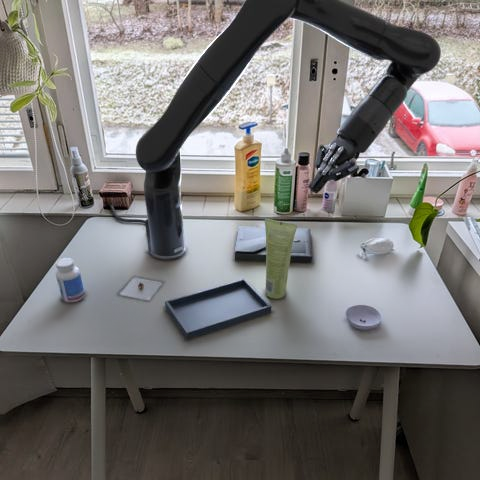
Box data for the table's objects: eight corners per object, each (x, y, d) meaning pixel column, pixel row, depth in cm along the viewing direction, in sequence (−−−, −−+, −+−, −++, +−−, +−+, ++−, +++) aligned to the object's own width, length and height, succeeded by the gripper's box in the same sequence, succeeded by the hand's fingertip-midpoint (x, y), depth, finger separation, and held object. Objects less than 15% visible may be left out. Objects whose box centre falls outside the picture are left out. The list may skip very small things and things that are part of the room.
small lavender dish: (351, 307, 119) (353, 301, 118) (384, 318, 116) (386, 311, 114) (339, 325, 113) (340, 319, 112) (373, 337, 110) (375, 330, 109)
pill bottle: (89, 292, 123) (81, 258, 117) (77, 304, 119) (68, 270, 113) (70, 288, 125) (61, 254, 119) (57, 300, 121) (47, 265, 115)
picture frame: (234, 260, 135) (311, 263, 134) (234, 251, 134) (312, 254, 133) (238, 232, 148) (309, 235, 147) (238, 223, 146) (310, 226, 145)
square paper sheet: (162, 282, 127) (162, 276, 126) (148, 300, 121) (147, 294, 120) (134, 277, 129) (133, 271, 127) (119, 294, 123) (117, 288, 121)
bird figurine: (372, 268, 135) (398, 249, 138) (368, 246, 131) (395, 228, 134) (359, 263, 139) (384, 245, 142) (355, 242, 135) (381, 224, 138)
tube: (282, 285, 126) (287, 214, 114) (291, 296, 122) (297, 224, 110) (262, 290, 124) (264, 218, 112) (269, 301, 121) (273, 228, 108)
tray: (244, 284, 126) (244, 278, 125) (271, 312, 117) (271, 305, 116) (165, 307, 118) (164, 301, 117) (187, 339, 109) (186, 333, 108)
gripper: (337, 105, 109) (286, 171, 112) (376, 121, 100) (319, 192, 103) (354, 127, 114) (305, 189, 117) (392, 143, 105) (338, 210, 108)
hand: (312, 190), depth 110 cm, fingers closed
